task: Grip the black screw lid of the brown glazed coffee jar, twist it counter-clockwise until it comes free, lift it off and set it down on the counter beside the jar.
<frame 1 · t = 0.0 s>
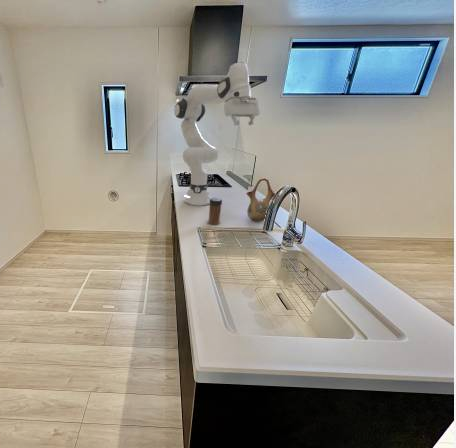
hand: (243, 124, 121), 52 cm above the table, tool tilted 20°, fingers open, 8 cm apart
ceramic vessel: (256, 221, 140), on the table
jar lid: (215, 200, 132), point 13 cm above the table, screwed on, not yet turned
coffee jar: (213, 222, 137), on the table
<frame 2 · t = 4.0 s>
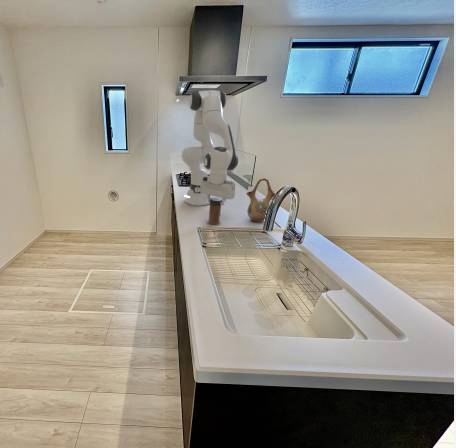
hand: (215, 203, 133), 11 cm above the table, tool pointing down, fingers closed on jar lid, 6 cm apart
jar lid: (215, 200, 132), point 13 cm above the table, screwed on, not yet turned, touching gripper
everything else where it was.
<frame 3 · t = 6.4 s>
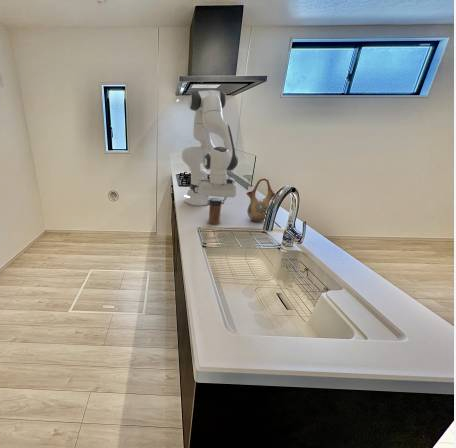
hand: (215, 203, 133), 11 cm above the table, tool pointing down, fingers closed on jar lid, 6 cm apart
jar lid: (215, 200, 132), point 13 cm above the table, off its thread, touching gripper
everything else where it was.
when the fingers open (0 cm above the table, at t = 16.0 s): jar lid stays where it is, point 2 cm above the table.
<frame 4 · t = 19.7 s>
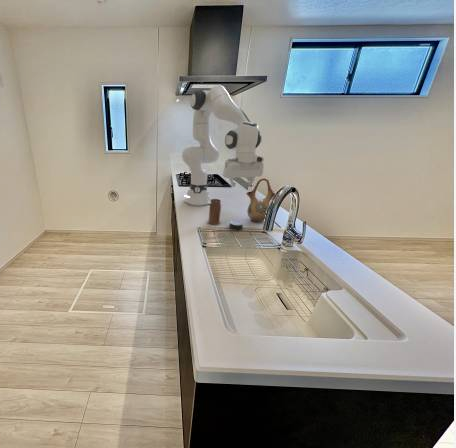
hand: (241, 185, 122), 23 cm above the table, tool pointing down, fingers open, 8 cm apart
jar lid: (236, 223, 129), point 2 cm above the table, off its thread
everything else where it was.
at the end: jar lid inside the target area (0.2 cm from its centre), point 2.3 cm above the table; coffee jar tilted 0°; coffee jar moved 0.0 cm from its start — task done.
